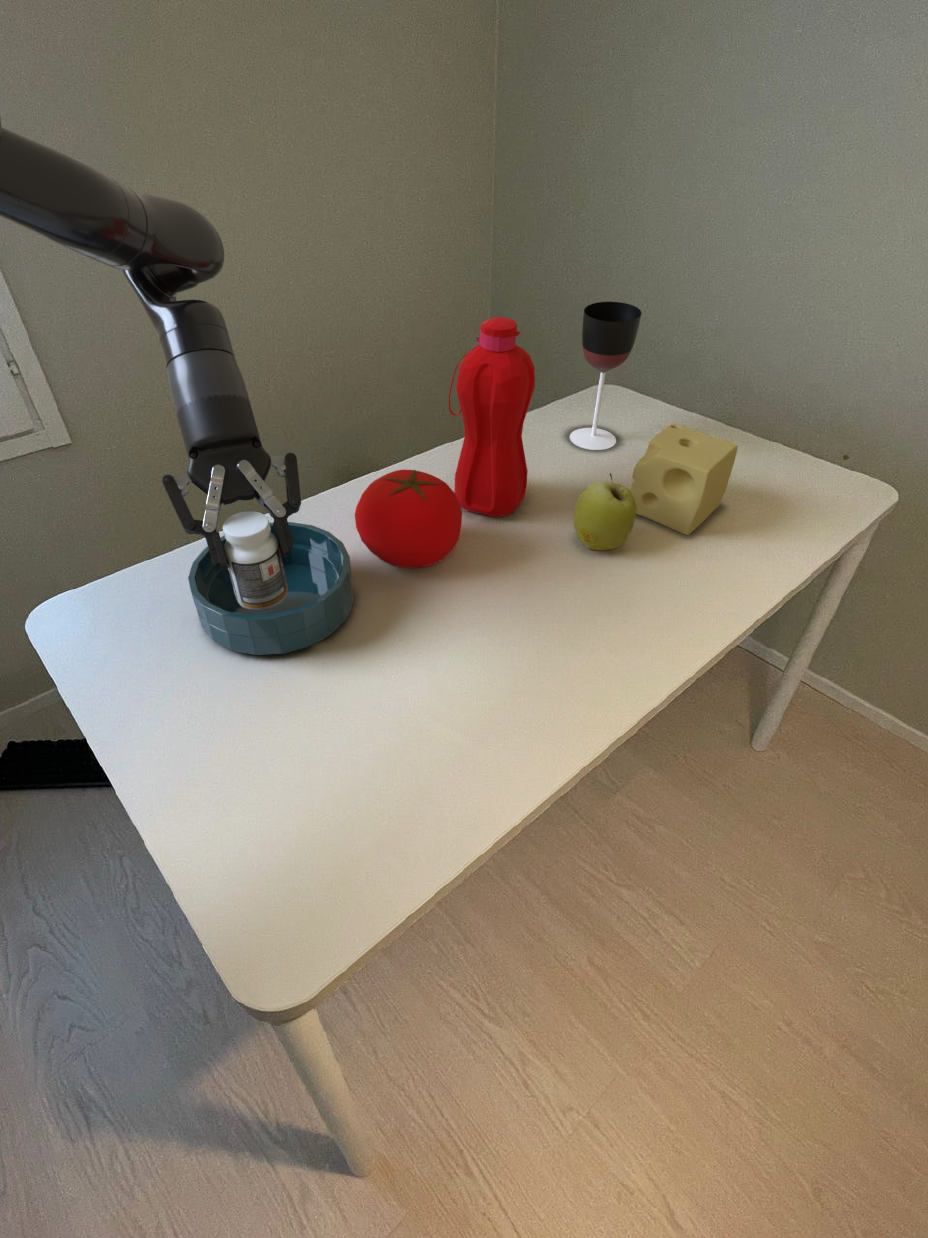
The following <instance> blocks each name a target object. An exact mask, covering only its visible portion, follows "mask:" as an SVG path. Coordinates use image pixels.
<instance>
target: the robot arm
mask: <svg viewBox="0 0 928 1238" xmlns="http://www.w3.org/2000/svg"><path fill="white" fill-rule="evenodd" d="M1 118H2V117H1V116H0V218H2V219H5V220H7V221H9V222H11V223H14V224H16V225H18V226H21V227H22V228H24V229H26V230H29V231H30V232H33V233H34V234H37V235H39V236H41V237H43V238H45V239H48V240H49V241H52V242H53V243H56V244H58V245H61V246H63V247H64V248H67V249H69V250H71V251H73V252H76V253H78V254H80V255H82V256H85V257H87V258H89V259H91V260H94V261H96V262H99V263H101V264H104V265H106V266H108V267H111V268H113V269H117V270H120V272H121V274H122V276H123V277H124V280H125V281H126V283H127V284H128V286H129V287H130V289H131V290H132V292H133V293H134V296H135V297H136V299H137V301H138V302H139V304H140V305H141V307H142V309H143V311H144V313H145V314H146V317H147V318H148V320H149V322H150V324H151V327H152V328H153V330H154V332H155V334H156V337H157V340H158V344H159V348H160V351H161V354H162V355H161V356H162V358H163V361H164V365H165V369H166V373H167V377H168V379H167V380H168V386H169V393H170V397H171V400H172V404H173V405H172V406H173V410H174V412H175V415H176V418H177V422H178V425H179V429H180V433H181V437H182V441H183V444H184V447H185V451H186V454H187V458H188V465H187V468H186V471H184V472H181V473H178V474H176V475H171V474H164V475H163V476H162V478H161V482H162V485H163V489H164V491H165V492H166V494H167V497H168V499H169V500H170V503H171V504H172V507H173V509H174V511H175V513H176V515H177V517H178V520H179V522H180V524H181V526H182V528H183V530H184V533H186V534H187V535H200V536H201V537H203V538H204V539H205V541H206V545H207V546H208V548H209V552H210V556H211V559H212V562H213V564H214V565H215V566H219V565H221V569H222V571H223V570H227V569H229V567H228V563H227V560H226V556H225V552H224V549H223V545H222V542H221V535H220V531H217V528H218V523H219V518H220V515H221V508H222V504H223V506H226V505H231V504H233V503H236V502H238V501H251V500H254V499H255V500H256V501H257V502H258V503H259V504H260V506H261V507H262V508H264V510H266V512H267V514H268V515H269V516H271V518H272V519H273V522H272V523H273V526H274V530H275V534H276V537H277V540H278V544H279V548H280V552H281V555H282V557H285V556H289V554H290V552H289V550H291V549H292V548H293V539H292V535H291V532H290V528H289V524H288V522H289V521H288V518H289V517H290V516H292V515H294V514H297V513H298V512H299V511H300V508H301V505H302V497H301V487H300V478H299V477H300V476H299V467H298V460H297V459H298V457H297V455H296V454H295V453H293V452H287V453H286V454H285V455H270V454H269V453H268V452H267V451H266V449H265V448H264V447H263V444H262V440H261V437H260V433H259V430H258V426H257V421H256V419H255V415H254V412H253V408H252V405H251V401H250V396H249V394H248V390H247V385H246V382H245V380H244V377H243V375H242V372H241V370H240V368H239V365H238V362H237V360H236V355H235V352H234V348H233V345H232V341H231V338H230V334H229V331H228V327H227V323H226V321H225V318H224V316H223V313H222V312H221V310H220V309H219V308H218V307H217V306H216V305H215V304H213V303H211V302H209V301H207V300H201V299H183V300H182V299H181V300H177V296H178V295H180V294H183V293H185V292H187V291H189V290H192V289H194V288H197V287H198V286H202V285H203V284H206V283H208V282H210V281H212V280H214V279H215V278H217V276H218V275H219V274H220V273H221V271H222V270H223V267H224V263H225V249H224V244H223V241H222V238H221V236H220V234H219V232H218V231H217V229H216V228H215V226H214V225H213V223H212V222H211V221H210V220H209V219H208V218H207V216H205V215H204V214H203V213H201V212H200V211H199V210H197V209H196V208H194V207H193V206H192V205H189V204H187V203H185V202H182V201H179V200H176V199H173V198H168V197H164V196H160V195H155V194H151V193H147V192H137V191H134V190H132V189H131V188H130V187H127V186H126V185H124V184H122V183H121V182H119V181H118V180H116V179H114V178H113V177H111V176H109V175H108V174H106V173H104V171H101V170H99V168H96V167H94V166H92V165H91V164H89V163H87V162H84V161H83V160H81V159H78V158H76V157H74V156H73V155H72V156H71V155H70V154H67V153H65V152H62V151H61V150H58V149H56V148H53V147H52V146H49V145H48V144H47V145H46V144H44V143H42V142H40V141H37V140H35V139H32V138H30V137H27V136H26V135H23V134H21V133H18V132H16V131H14V130H11V129H9V128H7V127H5V126H3V125H2V119H1ZM271 468H274V469H275V470H276V472H277V475H278V476H279V477H280V478H284V481H285V482H284V483H285V491H286V501H285V502H284V503H281V502H280V501H279V499H278V498H277V497H276V496H275V494H274V492H273V491H272V489H271V488H270V487H269V486H268V485H267V483H266V479H267V476H268V475H269V472H270V469H271ZM190 483H192V484H193V485H194V486H195V487H197V488H198V489H199V490H200V491H202V492H203V493H204V494H206V495H207V498H206V503H205V511H204V516H203V520H200V519H195V518H194V517H193V515H192V513H191V511H190V508H189V506H188V504H187V502H186V500H185V498H184V497H186V496H188V493H189V489H188V486H189V484H190Z"/></svg>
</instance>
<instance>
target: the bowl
mask: <svg viewBox="0 0 928 1238" xmlns="http://www.w3.org/2000/svg"><path fill="white" fill-rule="evenodd" d="M269 523H270V527H271V531H270V532H271V533H273V534H274V535H275V537H276V534H275V530H274V526H273V522H269ZM288 524H289V528H290V532H291V535H292V539H293V548H292V549H291V550H289V552H290V554H289V556H285V557H282V555H281V559H282V564H283V568H284V572H285V577H286V583H287V588H288V593H287V597H286V598H285V600H284V601H283V602H282V603H281V604H280V605H278V606H276V607H274V608H272V609H269V610H265V611H252V610H248V609H245V608H243V607H242V606H241V605H240V604H239V603H238V601H237V599H236V596H235V592H234V589H233V585H232V581H231V577H230V573H229V570H228V569H227V570H223V571H222V569H221V565H219V566H215V565H214V564H213V562H212V559H211V556H210V552H209V548H208V545H207V546H206V547H204V548H203V550H202V551H201V552H200V553H199V554H198V556H197V557H196V558H195V559H194V560H193V561H192V564H191V567H190V570H189V574H188V578H187V580H188V585H189V589H190V593H191V597H192V599H193V602H194V606H195V609H196V612H197V616H198V619H199V621H200V625H201V628H202V629H203V631H204V632H205V633H206V634H207V635H208V637H210V638H211V640H212V641H213V642H214V643H217V644H218V645H220V646H223V647H225V648H227V649H229V650H230V651H233V652H237V653H243V654H247V655H254V656H263V655H282V654H287V653H291V652H296V651H298V650H302V649H305V648H309V647H311V646H313V645H315V644H317V643H318V642H320V641H323V640H324V639H326V638H328V637H329V636H330V635H332V634H333V633H334V632H336V630H337V629H338V628H339V627H341V625H342V624H343V623H345V622H346V620H347V618H348V616H349V614H350V613H351V610H352V609H353V606H354V583H353V576H352V566H351V558H350V557H351V556H350V553H349V552H348V550H347V548H346V547H345V544H344V543H343V542H342V541H341V540H340V539H338V538H337V537H336V536H335V535H334V534H333V533H331V532H330V531H328V530H325V529H323V528H320V527H318V526H314V525H312V524H307V523H299V522H294V521H293V522H292V521H288ZM220 538H221V542H222V545H223V549H224V545H225V543H226V541H227V540H226V539H225V537H224V535H222V536H220ZM276 538H277V537H276ZM279 549H280V548H279ZM280 554H281V552H280Z"/></svg>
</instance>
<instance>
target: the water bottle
mask: <svg viewBox="0 0 928 1238" xmlns="http://www.w3.org/2000/svg"><path fill="white" fill-rule="evenodd" d="M479 331H480V332H479V335H477V336H476V341H475V343H476V344H475V345H474V346H472V347H470V348H469V349H468V350H467V351H466V352H465V354H464V355H463V357H462V358H461V359H460V360H459V361H458V363H457V364H456V366H455V368H454V371H453V375H452V379H451V383H450V386H449V387H450V388H449V392H448V410H449V413H450V414H451V416H453V417H457V416H459V415H460V414H461V417H462V422H463V442H462V446H461V450H460V454H459V458H458V462H457V466H456V469H455V473H454V493H455V495H456V497H457V499H458V501H459V503H460V506H461V509H463V510H465V511H468V512H471V513H476V514H477V513H478V514H482V515H485V516H487V517H489V516H490V517H493V518H500V517H504V516H505V517H506V516H509V515H511V514H512V513H514V512H515V511H516V510H518V509H519V507H520V504H521V503H522V501H523V500H524V497H525V495H526V491H527V484H528V465H527V460H526V453H525V447H524V441H523V429H524V422H525V420H526V416H527V413H528V410H529V407H530V404H531V400H532V398H533V395H534V391H535V388H536V387H535V386H536V370H535V369H536V368H535V364H534V363H533V360H532V358H531V356H530V354H529V353H528V352H527V351H526V350H525V349H524V348H522V347H521V346H519V345H518V344H516V343H517V342H516V341H517V337H519V336H520V334H521V331H518V323H517V322H516V320H515V319H512V318H509V317H504V316H497V317H496V316H495V317H492V318H489V319H486V320H484V321H483V322H482V323H480V329H479ZM459 364H460V365H459ZM458 367H459V369H458ZM457 369H458V374H457V379H456V384H455V390H456V395H457V399H458V403H459V407H460V409H459V412H458V413H457V414H456V413H454V412H453V410H452V408H451V393H452V388H453V383H454V380H455V375H456V372H457Z"/></svg>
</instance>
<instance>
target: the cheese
mask: <svg viewBox="0 0 928 1238" xmlns="http://www.w3.org/2000/svg"><path fill="white" fill-rule="evenodd" d="M738 447H739V445H738V444H737V443H735V442H732V441H730V440H726V439H723V438H720V437H717V436H713V435H710V434H707V433H704V432H700V431H697V430H695V429H692V428H690V427H687V426H684V425H681V424H678V423H676V422H672V423H670V424H669V425H668V426H666V427H665V428H663V429H662V430H661V431H659V432H658V433H657V434H656V435H654V436H653V437H652V438H651V439H650V440H649V441H648V445H647V449H646V451H645V454H644V455H643V456H642V457H641V458H640V459H639V460H637V462H636V463H635V464H634V468H633V471H632V477H631V478H632V479H633V483H632V484H631V486H630V487H629V488H627V489H628V490H629V491H630V492H631V493H632V495H633V497H634V500H635V503H636V515H638V516H641V517H644V518H646V519H648V520H651V521H654V522H656V523H658V524H661V525H663V526H665V527H667V528H670V529H672V530H673V531H676V532H678V533H681V534H683V535H686V536H689V535H690V534H692V532H693V531H695V530H696V529H697V528H698V527H699V526H700V525H701V524H703V522H704V521H705V520H706V519H707V518H708V517H709V516H710V515H711V514H712V513H713V512H714V511H715V510H716V509H717V508H719V507H720V505H721V503H722V500H723V498H724V495H725V493H726V490H727V487H728V484H729V481H730V477H731V474H732V471H733V468H734V465H735V460H736V457H737V453H738Z"/></svg>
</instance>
